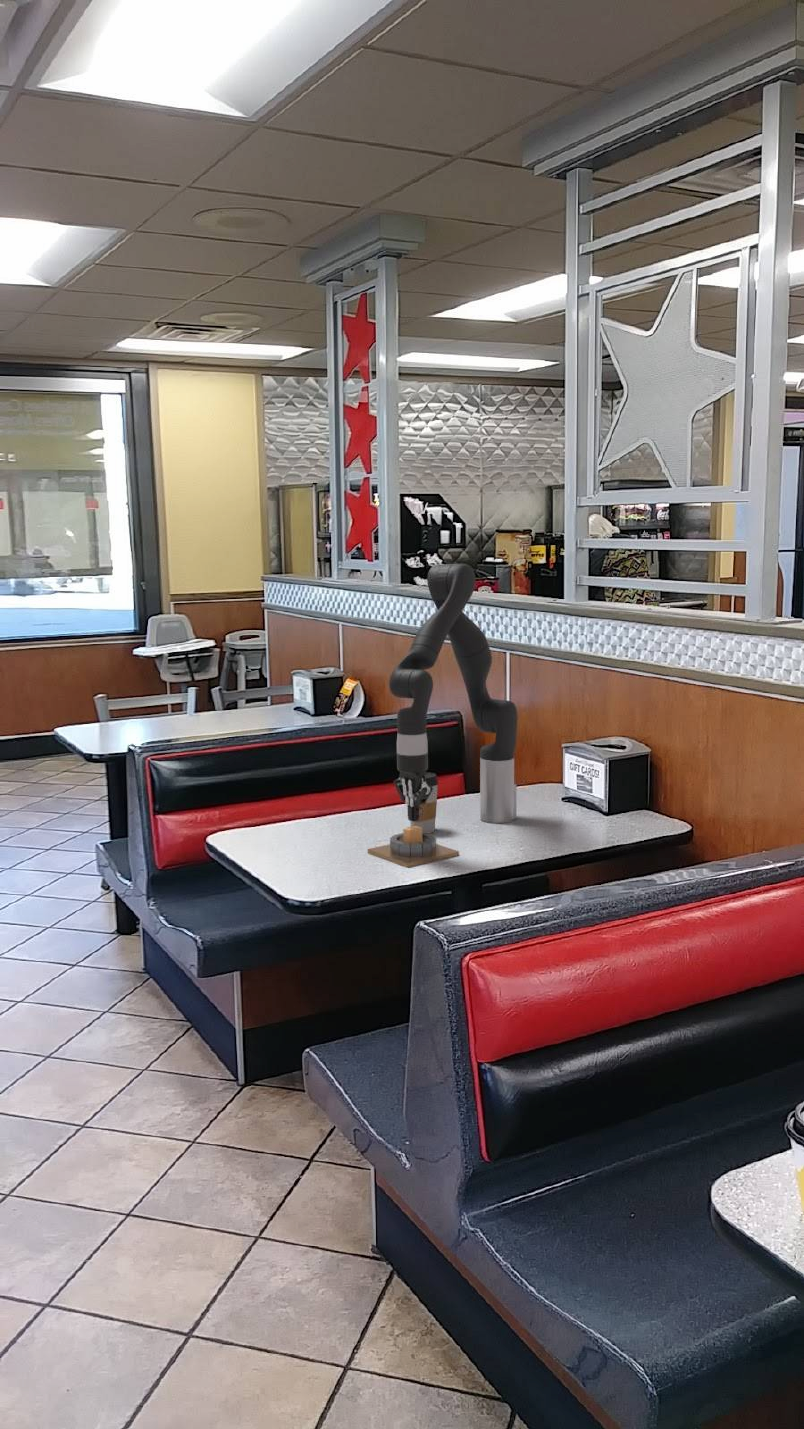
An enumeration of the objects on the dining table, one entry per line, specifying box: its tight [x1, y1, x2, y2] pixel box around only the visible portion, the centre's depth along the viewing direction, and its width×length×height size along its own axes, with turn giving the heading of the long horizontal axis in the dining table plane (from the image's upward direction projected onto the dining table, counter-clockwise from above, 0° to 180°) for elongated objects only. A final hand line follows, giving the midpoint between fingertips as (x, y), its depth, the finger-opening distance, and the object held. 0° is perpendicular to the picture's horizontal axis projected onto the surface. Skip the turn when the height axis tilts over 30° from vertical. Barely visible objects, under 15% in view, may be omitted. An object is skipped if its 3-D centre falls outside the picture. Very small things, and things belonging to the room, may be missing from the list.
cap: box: [402, 826, 422, 843], centre depth 274 cm, size 6×6×6 cm
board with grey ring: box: [367, 832, 460, 868], centre depth 274 cm, size 16×16×4 cm
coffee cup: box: [409, 771, 439, 834], centre depth 295 cm, size 8×8×15 cm
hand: (413, 820), depth 273 cm, fingers closed
